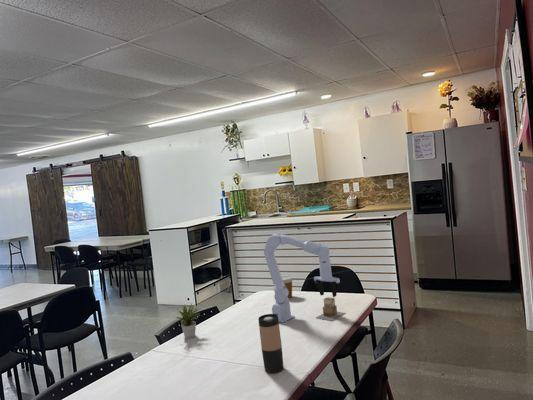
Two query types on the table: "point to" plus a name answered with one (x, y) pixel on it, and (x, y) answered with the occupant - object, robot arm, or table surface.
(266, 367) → the travel mug
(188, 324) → the house plant
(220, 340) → the table surface
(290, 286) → the disposable coffee cup
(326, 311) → the walnut block
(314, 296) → the table surface
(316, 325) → the table surface
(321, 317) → the grey flat slab
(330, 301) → the beech block
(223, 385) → the table surface
